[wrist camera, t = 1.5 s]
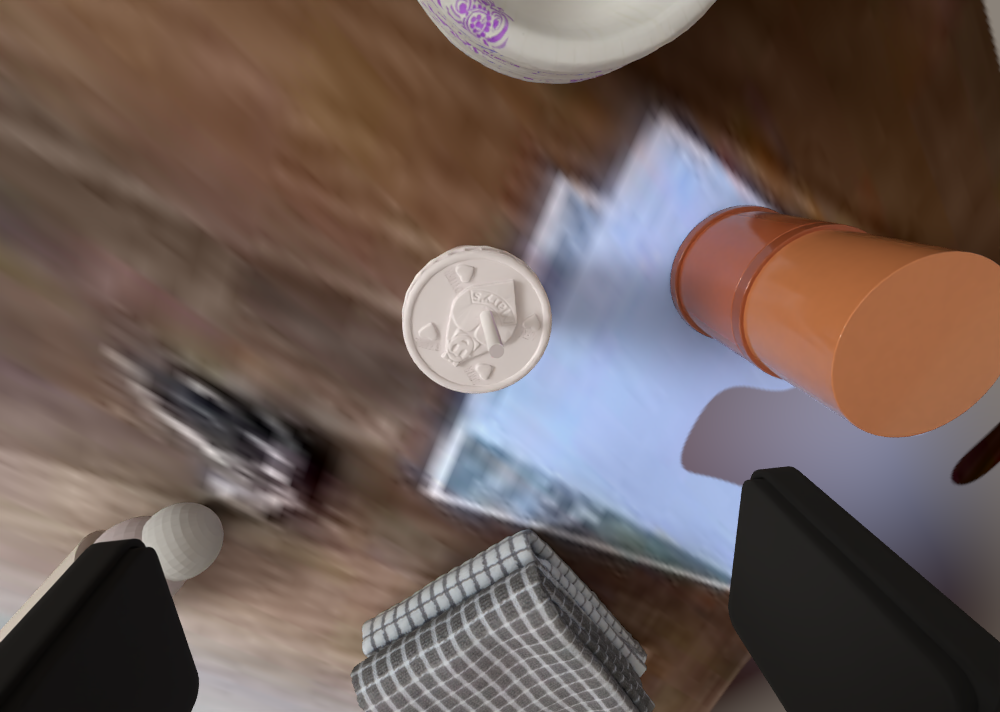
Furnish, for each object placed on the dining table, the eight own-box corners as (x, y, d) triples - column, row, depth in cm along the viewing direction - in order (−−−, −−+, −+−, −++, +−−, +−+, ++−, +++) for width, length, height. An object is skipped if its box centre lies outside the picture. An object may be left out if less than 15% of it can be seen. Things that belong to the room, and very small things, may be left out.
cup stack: (662, 224, 31) (820, 273, 18) (795, 189, 32) (1046, 213, 19) (677, 350, 34) (822, 469, 21) (799, 318, 35) (1017, 416, 22)
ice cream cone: (18, 596, 35) (227, 482, 37) (38, 689, 34) (257, 565, 35) (-84, 608, 30) (169, 472, 31) (-66, 721, 28) (202, 572, 29)
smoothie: (542, 266, 32) (616, 345, 19) (476, 349, 33) (501, 475, 20) (455, 196, 30) (469, 229, 17) (389, 287, 31) (353, 383, 18)
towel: (522, 505, 37) (543, 591, 30) (648, 650, 44) (690, 749, 36) (353, 617, 39) (334, 723, 32) (497, 740, 46) (508, 852, 38)
